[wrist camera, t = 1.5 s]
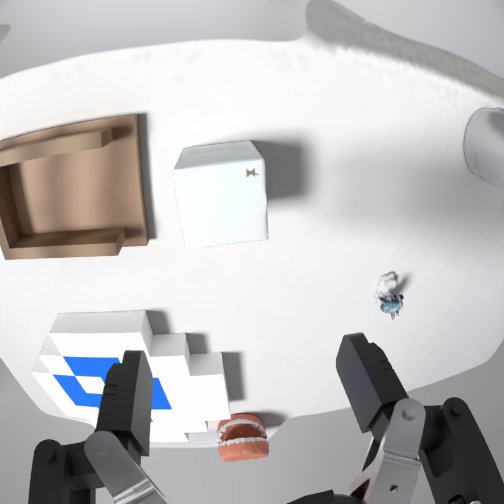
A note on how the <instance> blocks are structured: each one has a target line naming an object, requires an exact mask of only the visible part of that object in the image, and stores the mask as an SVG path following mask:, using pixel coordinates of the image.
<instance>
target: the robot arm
mask: <svg viewBox="0 0 504 504" xmlns="http://www.w3.org/2000/svg"><path fill="white" fill-rule="evenodd" d="M464 153H465V159H466V162H467V165H468V167H469V169H470V171H471V172H472V173H473V174H474V175H475V176H477V177H479V178H481V179H483V180H485V181H486V182H488V183H490V184H492V185H494V186H495V187H497V188H499V189H501V190H502V191H504V109H501V108H496V109H495V110H493V109H489V108H482V109H480V110H478V111H477V112H475V113H474V115H473V116H472V117H471V119H470V121H469V123H468V126H467V129H466V132H465V138H464ZM336 369H337V372H338V375H339V377H340V379H341V382H342V384H343V387H344V389H345V392H346V394H347V396H348V399H349V401H350V404H351V406H352V409H353V411H354V414H355V416H356V418H357V421H358V424H359V426H360V429H361V431H362V433H365V432H368V431H371V432H372V434H373V437H372V439H371V441H370V444H369V447H368V449H367V452H366V455H365V457H364V460H363V463H362V465H361V468H360V470H359V472H358V475H357V476H356V478H355V479H354V481H353V483H352V484H351V486H350V488H349V490H348V492H347V494H346V495H342V494H334V493H333V490H328V491H325V492H321V493H316V494H311V495H307V496H304V497H301V498H299V499H297V500H295V501H292V502H290V503H287V504H410V501H411V498H412V495H413V491H414V488H415V485H416V481H417V478H418V474H419V470H420V465H421V463H422V466H423V468H424V471H425V474H426V477H427V480H428V482H429V485H430V488H431V491H432V494H433V497H434V500H435V503H436V504H504V483H503V480H502V478H501V476H500V473H499V471H498V468H497V466H496V463H495V461H494V459H493V457H492V454H491V452H490V450H489V448H488V446H487V444H486V441H485V439H484V437H483V435H482V433H481V431H480V429H479V427H478V425H477V423H476V421H475V419H474V417H473V415H472V413H471V411H470V409H469V408H468V405H467V404H466V403H465V402H464V401H463V400H462V399H460V398H456V397H452V398H449V399H447V400H446V401H445V402H444V403H443V405H437V406H423V405H422V404H421V403H420V402H419V401H417V400H415V399H411V398H409V397H408V395H407V393H406V391H405V389H404V388H403V386H402V384H401V382H400V380H399V378H398V377H397V375H396V373H395V371H394V369H392V366H391V364H390V362H388V359H387V357H386V355H385V353H384V352H383V350H382V349H381V348H380V347H378V346H377V345H376V344H375V343H368V341H367V339H366V337H365V335H364V334H363V333H354V334H348V335H344V336H343V339H342V342H341V345H340V348H339V352H338V355H337V358H336ZM104 385H105V386H104V388H103V395H102V397H101V402H100V408H99V413H98V418H97V424H96V429H95V431H94V433H93V434H91V435H90V436H89V437H88V438H87V440H85V441H83V442H80V443H75V444H68V445H61V444H59V443H58V442H57V441H55V440H51V439H47V440H44V441H41V442H40V443H39V444H38V445H37V446H36V449H35V451H34V456H33V463H32V471H31V479H30V489H29V500H28V504H95V493H96V488H101V487H106V488H107V490H108V491H109V493H110V494H111V495H112V497H113V499H114V501H115V502H114V503H115V504H172V503H171V502H170V501H169V500H168V499H167V498H166V497H165V495H164V494H163V493H162V492H161V491H160V490H159V488H158V487H157V486H156V485H155V484H154V483H153V481H152V480H151V479H150V478H149V476H148V475H147V474H146V473H145V471H144V470H143V469H142V468H141V465H140V464H141V456H149V443H150V425H151V410H152V398H153V375H152V372H151V369H150V366H149V363H148V360H147V357H146V354H145V352H144V350H125V352H124V355H123V360H122V363H113V365H112V366H111V368H110V369H109V370H108V372H107V374H106V379H105V383H104ZM417 455H419V458H420V460H421V462H420V460H418V459H417Z"/></svg>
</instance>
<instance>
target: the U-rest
mask: <svg viewBox="0 0 504 504" xmlns="http://www.w3.org/2000/svg"><path fill="white" fill-rule="evenodd" d="M148 241H149V236H148V229H147V221H146V213H145V204H144V194H143V184H142V173H141V160H140V145H139V125H138V114H135V115H126V116H118V117H111V118H104V119H97V120H91V121H85V122H79V123H74V124H69V125H64V126H59V127H54V128H49V129H45V130H41V131H37V132H32V133H28V134H25V135H21V136H17V137H13V138H10V139H6V140H3V141H0V246H1V249H2V252H3V255H4V258H5V260H12V259H38V258H64V257H90V256H117V255H118V254H119V252H120V250H121V248H122V247H129V246H147V244H148Z"/></svg>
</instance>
